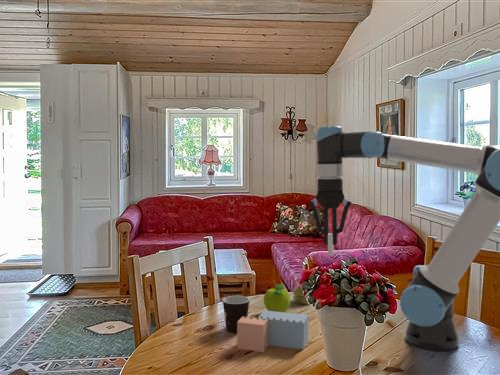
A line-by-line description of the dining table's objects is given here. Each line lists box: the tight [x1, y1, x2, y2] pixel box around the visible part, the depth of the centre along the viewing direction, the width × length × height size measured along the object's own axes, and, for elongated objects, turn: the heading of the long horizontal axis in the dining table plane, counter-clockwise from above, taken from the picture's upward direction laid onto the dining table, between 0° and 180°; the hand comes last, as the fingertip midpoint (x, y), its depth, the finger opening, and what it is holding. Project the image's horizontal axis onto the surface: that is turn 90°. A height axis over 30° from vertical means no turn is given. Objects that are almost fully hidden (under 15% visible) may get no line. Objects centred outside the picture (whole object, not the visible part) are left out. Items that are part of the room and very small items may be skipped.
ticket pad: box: [257, 309, 309, 350], centre depth 148 cm, size 14×7×8 cm, turn 72°
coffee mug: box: [222, 295, 250, 335], centre depth 159 cm, size 12×9×10 cm
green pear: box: [292, 276, 309, 306], centre depth 186 cm, size 7×7×10 cm
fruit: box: [263, 283, 291, 313], centre depth 172 cm, size 9×9×10 cm
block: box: [236, 316, 269, 353], centre depth 144 cm, size 8×5×8 cm, turn 72°
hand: (330, 255), depth 149 cm, fingers closed
